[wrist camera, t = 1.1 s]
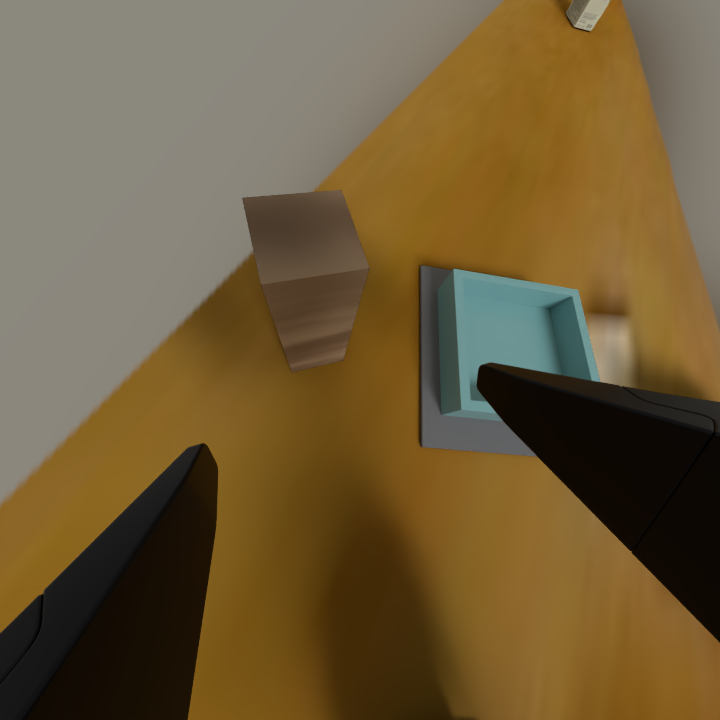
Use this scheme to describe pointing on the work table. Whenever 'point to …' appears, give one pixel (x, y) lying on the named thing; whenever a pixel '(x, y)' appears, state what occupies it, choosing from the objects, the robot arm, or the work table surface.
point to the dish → (506, 335)
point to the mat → (433, 424)
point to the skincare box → (586, 12)
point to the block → (308, 272)
